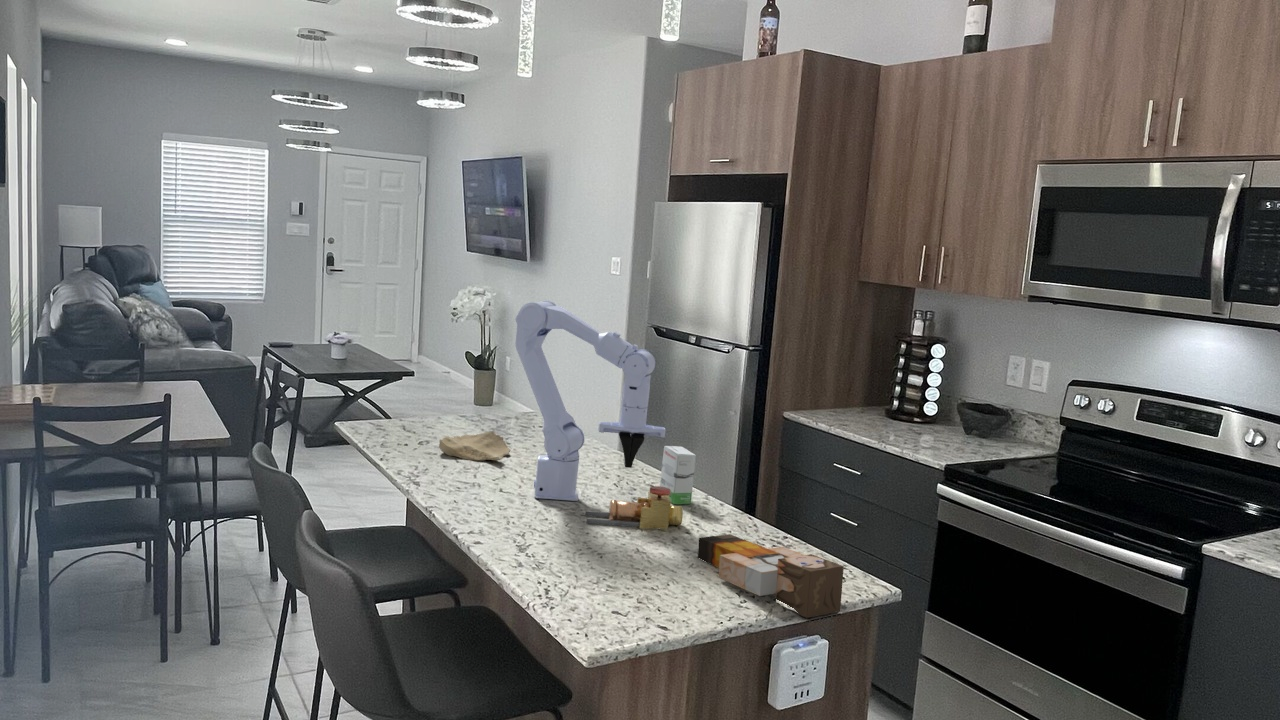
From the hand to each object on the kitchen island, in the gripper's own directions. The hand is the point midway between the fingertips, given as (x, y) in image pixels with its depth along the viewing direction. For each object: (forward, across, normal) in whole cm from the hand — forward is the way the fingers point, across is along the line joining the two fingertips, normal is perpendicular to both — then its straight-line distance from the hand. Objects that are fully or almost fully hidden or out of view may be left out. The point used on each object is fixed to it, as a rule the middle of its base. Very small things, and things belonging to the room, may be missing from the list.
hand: (628, 466), depth 205 cm
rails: (+9, -4, -10) cm, 14 cm away
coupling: (+9, 0, -10) cm, 14 cm away
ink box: (+10, +13, +10) cm, 19 cm away
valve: (+9, +6, -10) cm, 15 cm away
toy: (+10, +22, -40) cm, 47 cm away
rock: (+10, -33, +37) cm, 50 cm away
